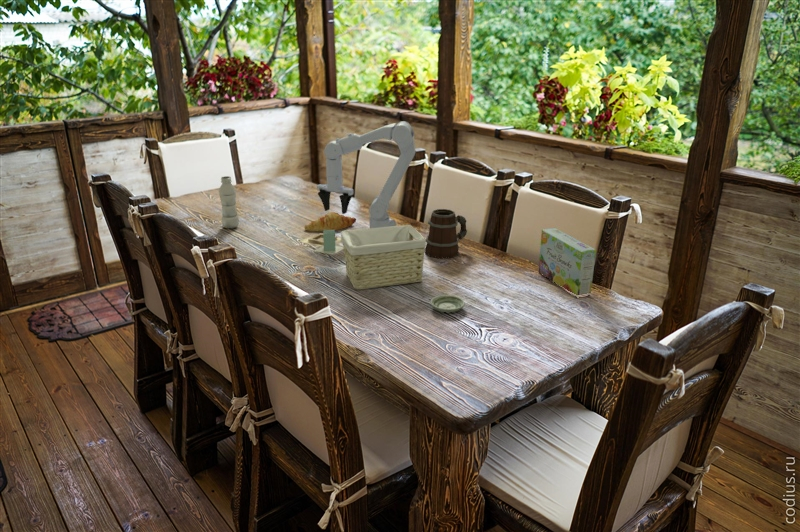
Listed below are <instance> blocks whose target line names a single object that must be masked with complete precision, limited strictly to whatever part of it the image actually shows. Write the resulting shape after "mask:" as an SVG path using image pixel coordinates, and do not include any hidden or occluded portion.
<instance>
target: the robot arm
mask: <svg viewBox="0 0 800 532" xmlns="http://www.w3.org/2000/svg"><path fill="white" fill-rule="evenodd" d="M382 139H385V140H389V141H392V140H393V141H394V143H395V144H396V145H397V147H398V149H399V151H400V155H399V157H398V159H397V160H396V162H395V164H394V166H393V168H392V170H391V172H390V174H389V176H388V178H387V179H386V181H385V183H384V185H383V186H382V189H381V191H380V193H379V194H378V196H376V197H375V198H374V199H373V200H372V202H371V204H370V206H369V209H368V213H369V215H368V216H369V228H380V227H390V226H397V221H396V220H395V219H393V218H391V217H390V214H389V213H388V210H389V208H390V201H391V200H392V197H393V196H394V194H395V192H396V190H397V188H398V187H399V185H400V183H401V181H402V179H403V178H404V175H405V174H406V172H407V170H408V168H409V166H410V164H411V163H412V161H413V159H414V157H415V156H416V142H415V132H414V130H413V127H412V126H411V124H410V123H409V122H408V121H405V120H403V121H399V122H397V123H396V122H394V123H390V124H386V125H383V126H381V127H379V128H376V129H374V130H371V131H368V132H366V133H364V134H357V133H352V132H350V133H348V134H347V136H344V137H342V138H339V137H337V138H336V139H335V140H330V141H329V142H328V143H327V144H326V146H325V147H324V150H323V152H324V156H325V158H326V159H325V161H326V162H325V165H326V167H325V169H326V171H325V172H326V184H321V183H319V184H317V185H316V190H317V191H318V192H317V195H318V197H319V198H320V200H321V203H322V205H323V208H324V209H323V210H324V211H325V212H327V211H329V210H330V205H331V204H330V201H331V193H335V194H341V195H339V199H340V203H341V213H342V214H341V215H344V214H346V213H348V207H349V205H350V201H351V199H352V198H353V195H354V189H353V188H351V187H347V186H344V182H343V181H344V179H343V177H344V176H343V162H342V155H343V156H345V155H348V154H351V153H353V152H356V151H360V150H361V149H362V148H363V145H365V144H368V143H371V142H375V141H378V140H382Z"/></svg>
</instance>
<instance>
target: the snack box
mask: <svg viewBox="0 0 800 532" xmlns="http://www.w3.org/2000/svg"><path fill="white" fill-rule="evenodd" d="M540 237H541V238H540V247H539V248H540V249H539V261H538V272H539V274H540V273H541V274H543V275H544V276H546V277H547V278H549V279H550V280H552V281H553V282H555V283H557V284H558V285H560V286H562V287H564V288H565V289H567V290H568V291H570V292H572V293H574V294H576V295H582V294H587V293H592V285H593V278H594V277H593V276H594V269H595V263H596V254H597V249H596V248H593V247H592V246H590V245H588V244H586V243H584V242H583V241H580V240H578V239H576V238H575V237H573V236H571V235H569V234H567V233H565V232H564V231H562V230H560V229H557V228H556V227H554V228H544V229H541V235H540ZM541 274H540V275H541ZM543 275H542V276H543ZM544 276H543V277H544ZM546 277H545V278H546ZM547 278H546V279H547ZM549 279H548V280H549ZM550 280H549V281H550ZM552 281H551V282H552ZM553 282H552V283H553ZM555 283H554V284H555ZM558 285H557V286H558Z"/></svg>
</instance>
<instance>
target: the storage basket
mask: <svg viewBox="0 0 800 532" xmlns="http://www.w3.org/2000/svg"><path fill="white" fill-rule="evenodd" d="M340 236H341V237H340V238H341V244H342V247H343V248H344V249H343V255H344V262H345V269H346V276H347V278H348V279H349V282H350V283H351V285H352V286H353V288H354V289H355V290H357V291H358V290H367V289H375V288H383V287H389V286H390V287H391V286H399V285H407V284H414V283H421V282H422V281H423V273H424V271H423V270H424V262H425V261H424V259H425V258H424V257H425V254H426V253H425V248H426V245H427V242H426V239H425V237H424V236H423V235H422V234H421V233H420V231H418V230H417V229H416V228H415V227H414V226H412V225H411V224H405V225H396V226H390V227H380V228H370V227H369V228H358V229H349V230H348V229H346V230H342V231H341V232H340Z"/></svg>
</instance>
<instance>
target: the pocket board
mask: <svg viewBox="0 0 800 532" xmlns="http://www.w3.org/2000/svg"><path fill="white" fill-rule="evenodd" d="M298 242H299V243H303V244H309V245H311V246H312V245H313V246H318V247H324V240H323V233H321V232H320V233H318V232H316V233H313V234H311V235H309V236H306V237H305V238H303V239H301V240H299V241H298ZM335 243H336V246H338V245H340V244H342V242H341V237H339V236H336V235H335Z"/></svg>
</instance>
